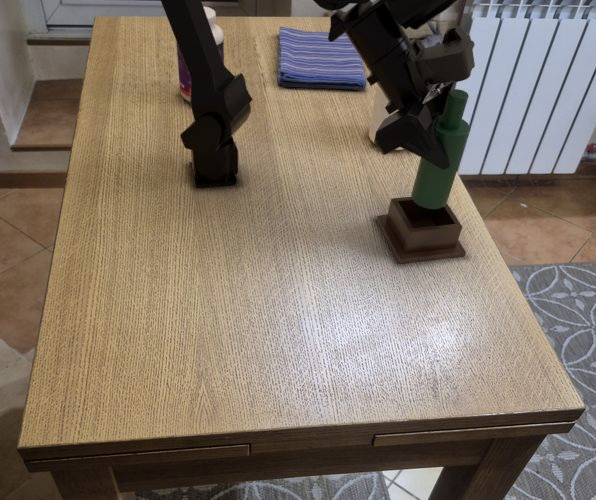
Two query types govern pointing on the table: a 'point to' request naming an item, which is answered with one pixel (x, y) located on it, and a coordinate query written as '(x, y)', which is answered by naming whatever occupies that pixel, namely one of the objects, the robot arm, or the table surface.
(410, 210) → the holder
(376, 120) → the beverage can
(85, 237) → the table surface
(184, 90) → the pill bottle
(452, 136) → the bottle
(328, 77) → the dish towel
